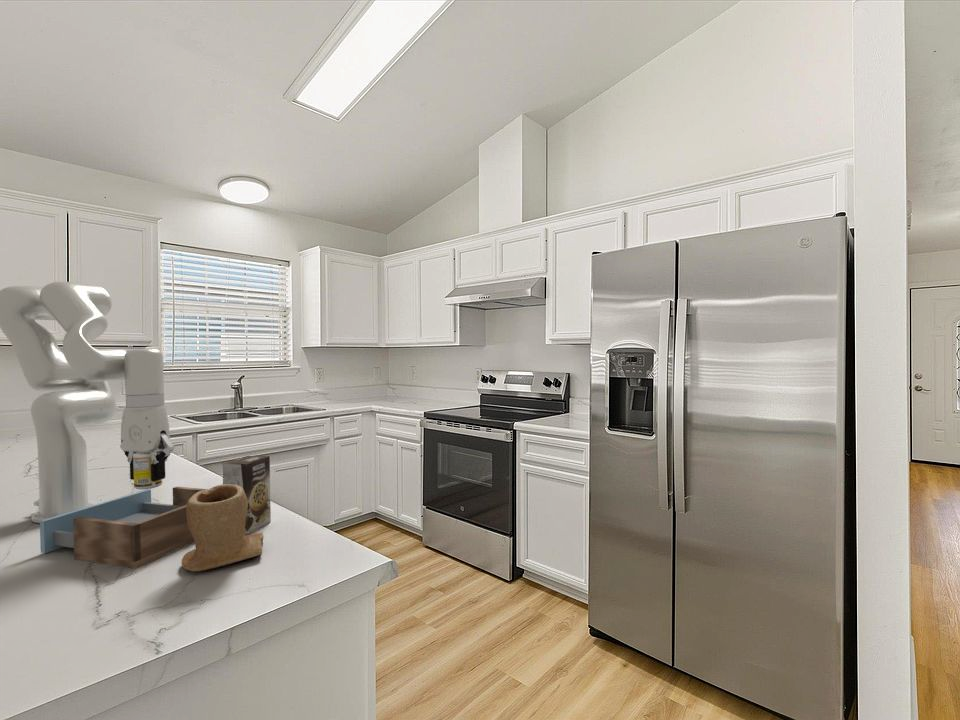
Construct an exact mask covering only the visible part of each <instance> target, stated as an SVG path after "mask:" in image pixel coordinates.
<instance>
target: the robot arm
mask: <svg viewBox="0 0 960 720" xmlns="http://www.w3.org/2000/svg"><path fill="white" fill-rule="evenodd" d="M112 302H113V301H112V298H111V295H110V294H109V292H108V291H107V290H106V289H105V288H104V287H102V286H99V285H97V284H90V283H82V282H71V281H53V282H50V283H47V284H46V285H45V286H43V287H42V286H29V285H13V286H7V287H4V288H2V289H0V330H1V332H2V333H3V334H4V336H5V337H6V338H7V339H8V340H7V341H8V342H10V344H11V346H12V348H13V350H14V353H15V355H16V359H17V361H18V363H19V365H20V368H21V371H22V373H23V376H24V378H25V380H26V383H27V384H28V385H29V386H30V388H31V389H33V390H36V391H41V392H42V391H43V392H44V391H45V392H47V393H43V394H41V395H39V396H37V397H36V398H35V399H34V400H33V401H32V404H31V405H30V406H31V407H30V415H31V420H32V423H33V426H34V430H35V435H36V446H37V459H38V460H37V461H38V462H37V463H38V466H37V467H38V490H39V491H38V492H39V493H38V496H39V498H38V499H37V500H35V501H33V506H34V507H38V511H37V512H35V513H33V514H32V515H31V517H30V518H31V522H33V523H35V524H40V521H41V520H44V519H48V518H51V517H55V516H58V515H61V514H65V513H68V512H71V511H75V510H78V509H82V508H85V507H88V506H92V505H95V504H94V503H89V489H88V488H89V487H88V486H89V485H88V484H89V483H88V453H87V452H88V451H87V442H86V440H85V438H84V437H83V436H82V435H81V434H80V432H78V430H77V429H76V428H79V427H87V426H94V425H99V424H104V423H106V422H109V421H111V420H112V419H113V418H114V416H115V415H116V410H117V404H116V400H115V397H114V395H113V392H112V389H111V387H110V384H109V381H110V382H111V381H112V382H113V381H114V382H115V381H124V390H125V393H124V395H125V408H123V411H122V418H121V425H120V445H119V447H120V449H121V450H122V451H123V453H124V455H125V456H126V458H127V460H126V461H127V462H128V464H129V479H130V480H131V481H132V480H133V481H134V471H133V454H134V453H136V452H150V454H151V458H152V461H153V463H154V464H151V480H152V481H157V480H161V479H162V480H164V479H166V462H167V461H168V458H169V457H170V455H171V453H172V452H173V451H174V450H175V446H174V444H173V443H172V442H171V439H170V438H171V436H170V434H171V433H170V423H169V417H168V413H167V407H166V406H165V387H164V386H165V382H164V381H165V379H164V378H165V376H164V357H163V356H164V355H163V353H162V351H161V350H159V349H158V348H157V349H156V348H95V347H93V346H92V345H91V344H90V343H89V342H92V341H94V340H96V339H98V338H99V337H101V336H102V335H103V334H104V333H105V332H106V331H107V328H108V325H109V323H108V319H107V318H106V315H108V314H109V312H110V311H111V309H112V305H113V303H112ZM36 320H37V321H38V320H40V321H56V322H57V323H58V324H59V325H60V326H61V328H62V329H63V330H64V331H65V334H64V337H63V340H62V351H61V348H60V347H59V346H58V342H57V340H56V338H55V336H54V335H53V334H52V333H51V332H50V331H49V330H48V329H46V328H45V327H44V326H42V325H41V324H39V323H38V322H36ZM49 391H50V392H49ZM155 449H156V450H155ZM157 452H159V455H158V456H157Z"/></svg>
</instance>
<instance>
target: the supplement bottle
mask: <svg viewBox="0 0 960 720" xmlns="http://www.w3.org/2000/svg"><path fill="white" fill-rule="evenodd" d="M155 450H156V449H155ZM158 455H159V452H157V456H158ZM151 464H154V463H153V461H152V458H151V454H150V452H136V453H134V454H133V471H134V480H133V487H134V489H136V490H146V489H155V488H158V487H161V486H162V485H163V479H161V480H157V481H152V480H151Z"/></svg>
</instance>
